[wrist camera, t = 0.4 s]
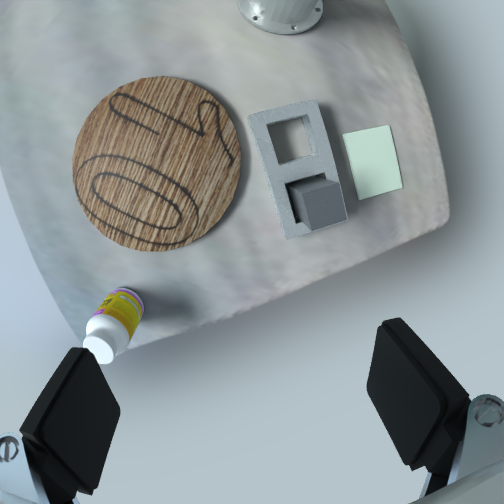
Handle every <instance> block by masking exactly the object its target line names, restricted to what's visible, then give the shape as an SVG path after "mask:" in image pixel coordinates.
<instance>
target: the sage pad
mask: <svg viewBox="0 0 504 504" xmlns="http://www.w3.org/2000/svg"><path fill="white" fill-rule="evenodd" d="M342 135H343V139H344V143H345V146H346V150H347V154H348V158H349V162H350V166H351V170H352V174H353V178H354V183H355V187H356V192H357V196H358V200H362V199H365V198H368V197H372V196H375V195H379V194H382V193H385V192H389V191H392V190H396V189H399V188H402V182H401V176H400V171H399V166H398V161H397V156H396V152H395V147H394V143H393V139H392V135H391V131H390V127H389V125H387V126H381V127H376V128H371V129H366V130H361V131H356V132H351V133H346V134H342Z"/></svg>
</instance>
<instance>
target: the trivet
mask: <svg viewBox="0 0 504 504" xmlns="http://www.w3.org/2000/svg"><path fill="white" fill-rule="evenodd" d="M240 156H241V150H240V146H239V142H238V138H237V134H236V129H235V127H234V125H233V123H232V121H231V119H230V118H229V116H228V114H227V112H226V111H225V109H224V107H223V106H222V105H221V104H220V103H219V102H218V101H217V100H216V99H215V98H214V97H213V96H212V95H210V94H209V93H208V92H207V91H206V90H204V89H202V88H200V87H198V86H196V85H194V84H192V83H190V82H188V81H186V80H181V79H176V78H171V77H165V76H162V77H151V78H142V79H139V80H136V81H133V82H131V83H128V84H126V85H123V86H121V87H119V88H118V89H116V90H115V91H113V92H112V93H111V94H109V95H108V96H106V97H105V98H104V99H102V100H101V101H100V103H99V104H98V105H97V106H96V107H95V108H94V110H93V111H92V112H91V113H90V115H89V116H88V117H87V119H86V121H85V123H84V125H83V127H82V129H81V131H80V133H79V135H78V137H77V141H76V145H75V150H74V154H73V183H74V186H75V190H76V194H77V197H78V201H79V203H80V205H81V207H82V208H83V210H84V212H85V214H86V215H87V217H88V219H89V220H90V221H91V222H92V223H93V225H94V226H95V227H96V228H97V229H98V230H99V231H100V232H101V233H102V234H103V235H105V236H106V237H108V238H110V239H111V240H113V241H115V242H116V243H118V244H120V245H121V246H125V247H128V248H132V249H135V250H139V251H158V252H163V251H167V250H171V249H174V248H178V247H182V246H185V245H187V244H188V243H190V242H192V241H194V240H196V239H197V238H199V237H201V236H203V235H204V234H205V233H206V232H207V231H208V230H209V229H210V228H211V227H212V226H213V225H214V224H215V223H217V222H218V221H219V220H220V219H221V217H222V215H223V214H224V212H225V210H226V209H227V207H228V205H229V204H230V202H231V201H232V199H233V196H234V193H235V189H236V186H237V183H238V180H239V176H240Z"/></svg>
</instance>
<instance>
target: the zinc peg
mask: <svg viewBox="0 0 504 504" xmlns="http://www.w3.org/2000/svg"><path fill="white" fill-rule="evenodd" d="M285 185H286V189H287V192H288V196H289V199H290V203H291V206H292V210H293V213H294V214H295V215H296V216H297V217H298V218H299V219H300V220H301V221H302V222H303V223H304V224H305V225H306V226H307V227H308V228H309V229H310V230H311V231H314V230H317V229H321V228H324V227H327V226H330V225H333V224H337V223H340V222H343V221H346V220H347V215H346V211H345V206H344V202H343V197H342V193H341V189H340V184H339V182H335V181H332V180H328V179H325V178H321V177H318V176H311V177H308V178H304V179H301V180H297V181H294V182H290V183H287V184H285Z"/></svg>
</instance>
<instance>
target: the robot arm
mask: <svg viewBox="0 0 504 504" xmlns="http://www.w3.org/2000/svg"><path fill="white" fill-rule="evenodd" d="M238 6H239V9H240V11H241V13H242V14H243V16H244V17H245V18H246V19H247V20H248V21H249V22H250V23H252V24H253V25H255V26H256V27H258V28H260V29H262V30H265V31H268V32H271V33H276V34H297V33H301V32H304V31H306V30H308V29H310V28H311V27H313V26H314V25H315V24H316V23H317V22H318V21H319V19H320V17H321V16H322V13H323V2H322V0H238ZM255 20H257V21H255ZM292 28H293V29H294V30H293V29H292ZM367 392H368V395H369V397H370V398H371V400H372V402H373V404H374V406H375V408H376V410H377V412H378V414H379V416H380V418H381V419H382V422H383V423H384V425H385V427H386V429H387V431H388V433H389V435H390V437H391V439H392V441H393V443H394V445H395V447H396V449H397V451H398V453H399V455H400V457H401V459H402V461H403V463H404V464H405V465H409V466H410V468H411V470H412V471H413V470H416V469H418V468H420V467H423V466H426V468H427V470H428V475H427V478H426V481H425V484H424V486H423V489H422V492H421V495H420V497H419V499H418V500H416V501H414V502H412V503H409V504H504V402H503V401H502V400H501V399H500V398H498V397H497V396H494V395H490V394H483V395H480V396H477V397H476V398H474V399H473V400H472V401H471V400H470V399H469V398H468V397H469V394H468V393H467V392H466V391H465V389H464V388H463V387H462V386H461V385H460V383H459V382H458V381H457V380H456V379H455V377H454V376H453V375H452V374H451V373H450V372H449V371H448V369H447V368H446V367H445V366H444V365H443V364H442V362H441V361H440V360H439V359H438V358H437V357H436V356H435V354H434V353H433V352H432V351H431V350H430V349H429V348H428V347H427V346H426V344H425V343H424V342H423V341H422V340H421V339H420V338H419V337H418V336H417V335H416V333H414V331H413V330H412V329H411V328H410V327H409V326H408V325H407V324H406V323H405V322H404V321H403V320H402V319H401V318H394V319H389V320H385V321H383V322H382V325H381V326H379V327H378V329H377V335H376V340H375V346H374V352H373V357H372V362H371V367H370V372H369V377H368V381H367ZM119 417H120V407H119V405H118V403H117V401H116V399H115V397H114V395H113V393H112V391H111V389H110V387H109V385H108V383H107V381H106V379H105V377H104V375H103V373H102V371H101V369H100V366H99V364H98V362H97V360H96V357H95V355H94V354H93V353H92V352H90V350H89V349H88V348H76V347H73V348H71V349H70V350H69V352H68V353H67V355H66V356H65V357H64V359H63V360H62V362H61V364H60V365H59V366H58V368H57V369H56V371H55V372H54V374H53V375H52V377H51V378H50V380H49V382H48V383H47V385H46V386H45V388H44V389H43V391H42V392H41V394H40V396H39V397H38V399H37V401H36V402H35V404H34V406H33V407H32V409H31V410H30V412H29V414H28V416H27V417H26V419H25V421H24V422H23V424H22V426H21V428H20V430H19V431H20V432H21V433H22V434H23V437H22V439H21V438H20V437H19V436H18V435H17V434H15V433H11V432H8V433H3V434H2V435H0V504H79V502H78V500H77V497H76V492H77V491H79V492H81V493H84V494H88V495H92V494H93V490H94V489H96V488H97V487H98V485H99V481H100V477H101V474H102V470H103V467H104V464H105V461H106V457H107V454H108V450H109V448H110V444H111V441H112V438H113V435H114V432H115V429H116V426H117V423H118V420H119Z"/></svg>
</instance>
